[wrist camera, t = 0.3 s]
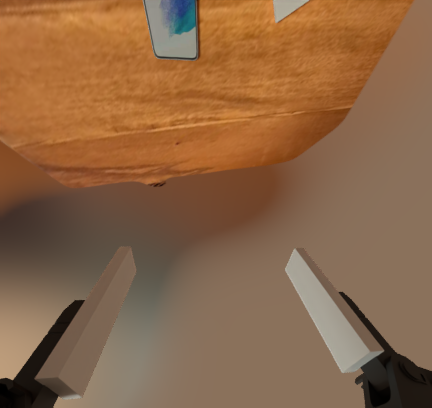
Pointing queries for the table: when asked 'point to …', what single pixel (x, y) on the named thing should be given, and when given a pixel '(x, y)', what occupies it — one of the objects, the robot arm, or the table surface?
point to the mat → (286, 7)
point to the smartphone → (173, 28)
